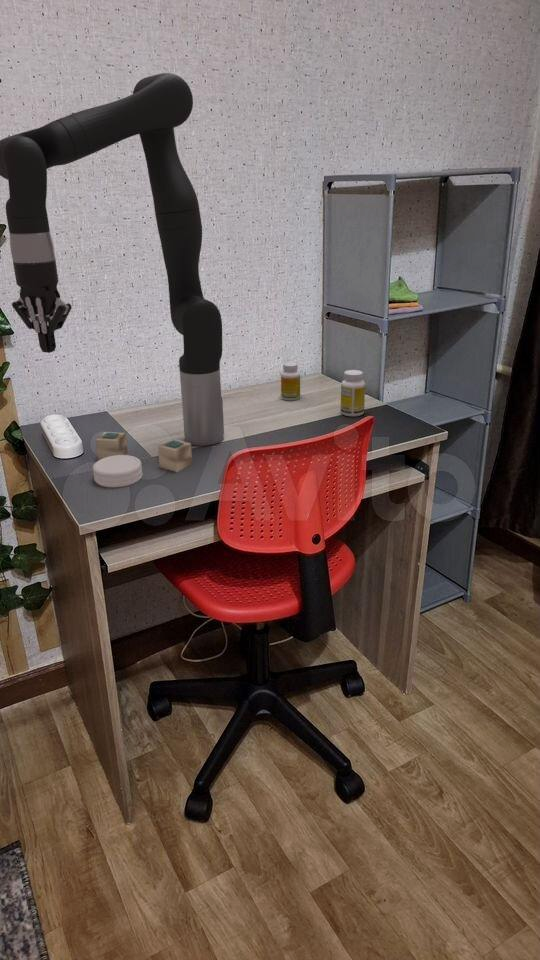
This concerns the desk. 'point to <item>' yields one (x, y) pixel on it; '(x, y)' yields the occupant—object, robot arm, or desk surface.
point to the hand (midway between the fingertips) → (48, 351)
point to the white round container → (117, 471)
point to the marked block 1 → (111, 444)
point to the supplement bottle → (290, 381)
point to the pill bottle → (352, 393)
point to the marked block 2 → (175, 455)
